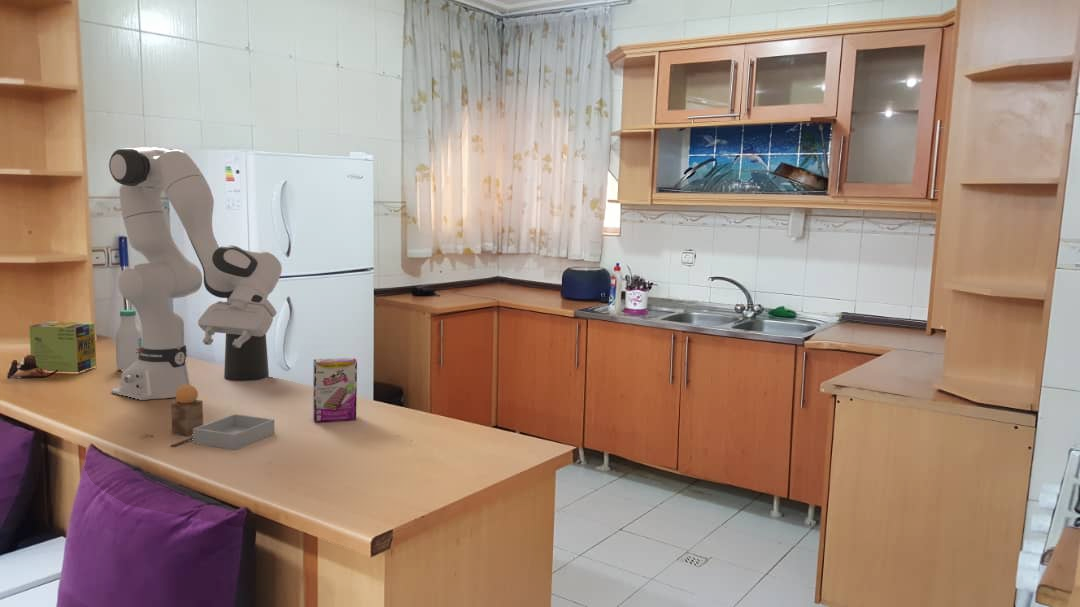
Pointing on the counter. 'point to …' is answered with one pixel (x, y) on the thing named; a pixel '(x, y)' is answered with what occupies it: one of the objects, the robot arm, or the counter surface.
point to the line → (182, 442)
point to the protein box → (63, 346)
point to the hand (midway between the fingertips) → (220, 344)
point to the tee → (186, 417)
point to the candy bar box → (334, 389)
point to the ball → (186, 394)
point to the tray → (233, 431)
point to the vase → (246, 359)
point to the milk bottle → (127, 340)
